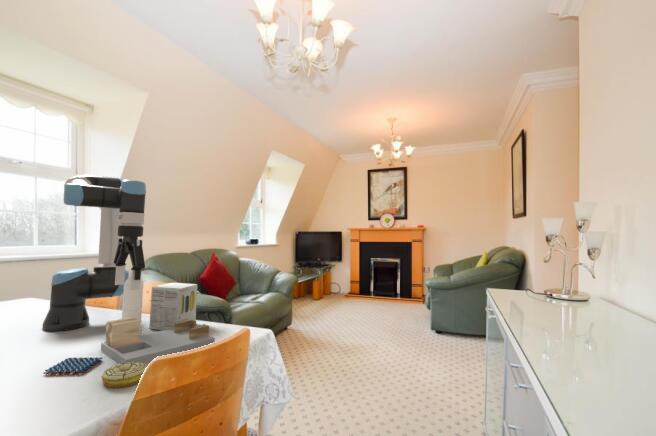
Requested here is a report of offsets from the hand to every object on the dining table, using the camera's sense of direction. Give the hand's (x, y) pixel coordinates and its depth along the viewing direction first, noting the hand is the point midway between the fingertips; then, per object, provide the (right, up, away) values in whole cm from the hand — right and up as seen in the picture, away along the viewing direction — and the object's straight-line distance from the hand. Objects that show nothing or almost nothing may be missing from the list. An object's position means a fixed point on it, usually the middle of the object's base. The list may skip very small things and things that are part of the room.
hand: (127, 287), depth 112 cm
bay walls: (+18, -20, +10) cm, 28 cm away
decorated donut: (+14, -21, -23) cm, 34 cm away
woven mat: (-5, -21, -17) cm, 27 cm away
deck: (+10, -22, +2) cm, 24 cm away
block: (-1, -18, -1) cm, 18 cm away
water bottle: (-5, -22, +12) cm, 25 cm away
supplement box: (+3, -23, +28) cm, 36 cm away
